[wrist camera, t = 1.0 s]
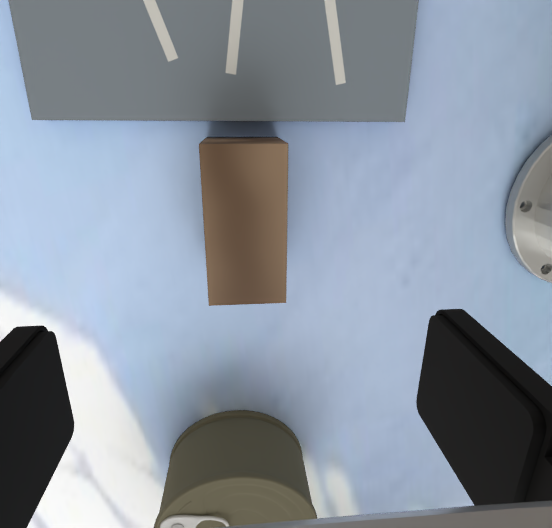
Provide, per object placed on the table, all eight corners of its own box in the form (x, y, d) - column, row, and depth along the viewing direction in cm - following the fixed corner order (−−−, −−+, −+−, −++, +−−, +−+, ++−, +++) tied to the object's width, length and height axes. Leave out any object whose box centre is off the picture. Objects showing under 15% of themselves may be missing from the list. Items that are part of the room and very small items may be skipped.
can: (276, 521, 39) (283, 602, 32) (151, 498, 36) (133, 581, 30) (325, 425, 35) (344, 495, 29) (190, 392, 33) (179, 461, 26)
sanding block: (277, 136, 26) (288, 143, 21) (276, 266, 29) (286, 302, 24) (207, 136, 26) (199, 144, 20) (214, 268, 29) (208, 305, 23)
